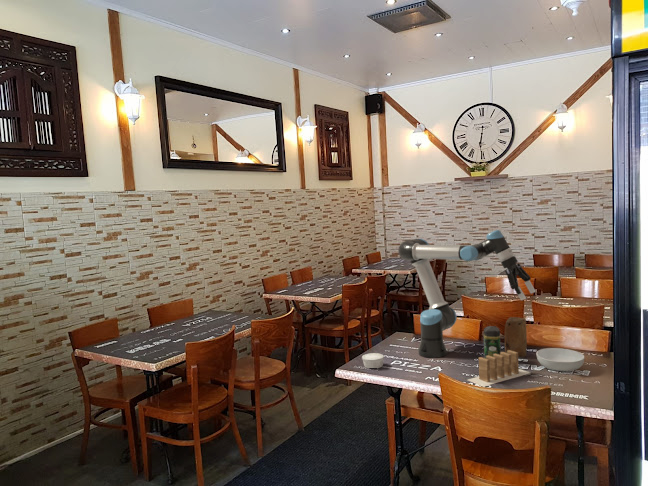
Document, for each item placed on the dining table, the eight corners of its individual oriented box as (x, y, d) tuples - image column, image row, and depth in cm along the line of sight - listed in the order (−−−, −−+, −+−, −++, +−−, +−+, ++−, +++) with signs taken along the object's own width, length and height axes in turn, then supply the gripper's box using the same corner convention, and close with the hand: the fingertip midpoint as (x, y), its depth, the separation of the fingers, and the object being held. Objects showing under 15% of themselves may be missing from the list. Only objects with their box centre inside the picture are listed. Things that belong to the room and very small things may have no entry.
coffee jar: (484, 359, 249) (483, 324, 248) (501, 360, 246) (500, 325, 245) (484, 366, 240) (483, 329, 239) (501, 367, 237) (500, 330, 236)
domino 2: (494, 380, 218) (494, 358, 217) (486, 377, 222) (485, 355, 221) (497, 379, 218) (496, 358, 218) (489, 376, 223) (488, 355, 222)
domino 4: (509, 376, 222) (508, 355, 221) (500, 373, 226) (500, 352, 225) (511, 375, 222) (511, 354, 222) (503, 372, 227) (502, 351, 226)
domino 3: (502, 378, 220) (501, 356, 219) (493, 375, 224) (493, 354, 223) (504, 377, 220) (504, 356, 220) (496, 374, 225) (495, 353, 224)
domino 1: (487, 382, 216) (486, 360, 215) (479, 379, 220) (478, 357, 219) (490, 381, 216) (489, 359, 216) (481, 378, 221) (481, 357, 220)
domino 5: (516, 374, 224) (515, 353, 223) (507, 371, 228) (507, 350, 227) (518, 373, 224) (518, 352, 224) (510, 370, 229) (509, 350, 228)
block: (527, 354, 253) (527, 317, 252) (525, 358, 247) (524, 320, 246) (506, 352, 259) (505, 315, 258) (503, 356, 253) (502, 319, 251)
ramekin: (360, 369, 246) (359, 358, 245) (365, 362, 256) (365, 352, 256) (381, 370, 242) (381, 360, 241) (386, 363, 252) (386, 353, 252)
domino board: (482, 388, 211) (482, 386, 211) (466, 381, 220) (466, 379, 220) (531, 374, 224) (530, 372, 224) (513, 369, 233) (513, 367, 233)
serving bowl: (526, 366, 237) (526, 352, 236) (557, 358, 245) (557, 345, 244) (562, 379, 218) (562, 364, 217) (595, 370, 226) (594, 356, 225)
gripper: (503, 260, 235) (526, 299, 231) (522, 250, 253) (543, 287, 249) (491, 266, 240) (512, 305, 236) (510, 256, 258) (530, 292, 254)
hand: (528, 296), depth 242 cm, fingers open, 13 cm apart
